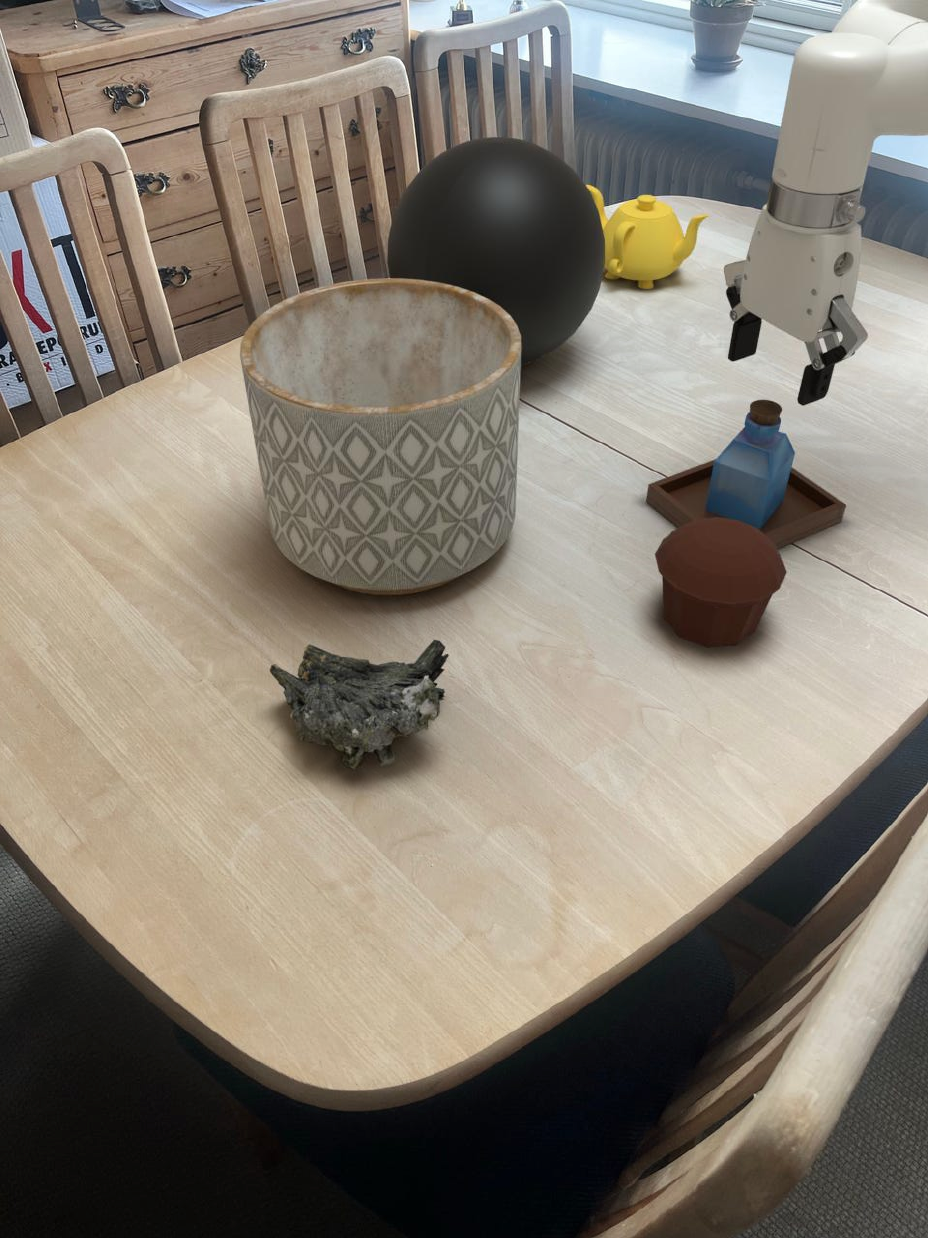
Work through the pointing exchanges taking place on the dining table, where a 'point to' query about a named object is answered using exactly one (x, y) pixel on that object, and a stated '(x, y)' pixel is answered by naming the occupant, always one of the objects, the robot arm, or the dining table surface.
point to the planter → (386, 430)
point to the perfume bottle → (752, 468)
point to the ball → (505, 235)
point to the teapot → (644, 239)
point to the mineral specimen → (362, 700)
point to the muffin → (717, 579)
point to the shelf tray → (789, 523)
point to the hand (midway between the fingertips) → (775, 378)
